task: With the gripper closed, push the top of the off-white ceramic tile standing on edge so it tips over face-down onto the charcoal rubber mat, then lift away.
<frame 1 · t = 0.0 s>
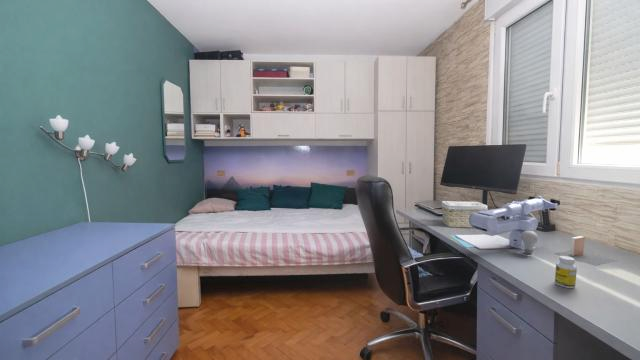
hand: (550, 201, 143), 22 cm above the table, tool horizontal, fingers open, 7 cm apart
lightbulb: (528, 254, 128), on the table
storage basket: (462, 225, 183), on the table
supplement bottle: (564, 285, 98), on the table
tile: (576, 254, 126), point 1 cm above the table, touching mat
mat: (584, 258, 123), on the table
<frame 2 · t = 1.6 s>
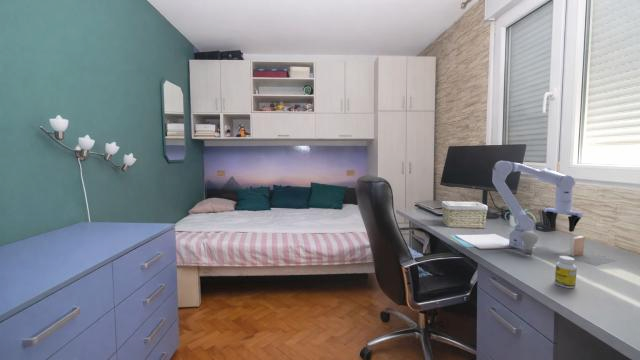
hand: (561, 229, 132), 10 cm above the table, tool pointing down, fingers open, 7 cm apart
nothing on the table moved.
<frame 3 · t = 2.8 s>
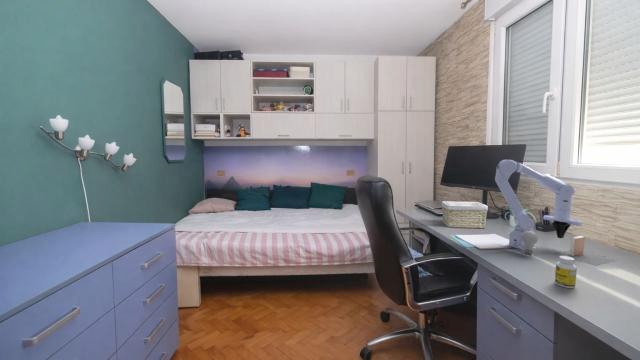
hand: (560, 237, 132), 6 cm above the table, tool pointing down, fingers closed
nothing on the table moved.
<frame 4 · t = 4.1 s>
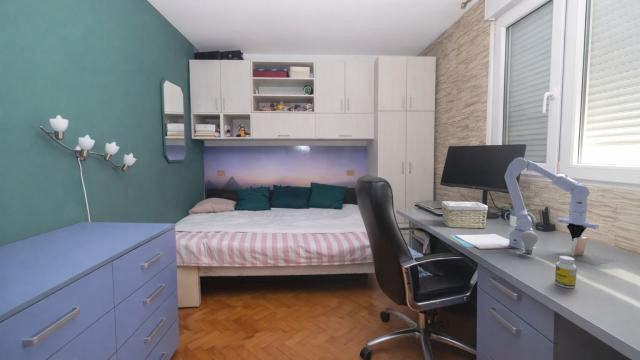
hand: (575, 241, 127), 6 cm above the table, tool pointing down, fingers closed
tile: (576, 254, 126), point 1 cm above the table, tilted 8°, touching mat
everything else where it was.
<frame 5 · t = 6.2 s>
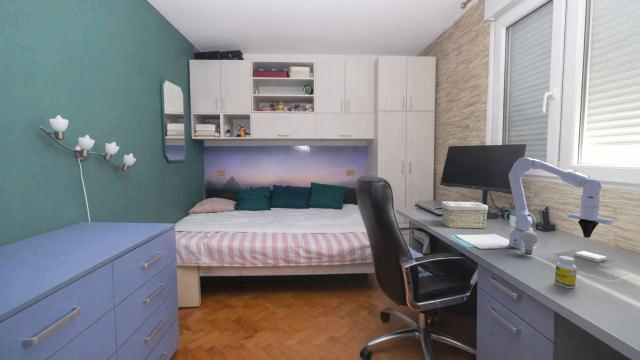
hand: (587, 237, 123), 9 cm above the table, tool pointing down, fingers closed
tile: (578, 253, 125), point 1 cm above the table, tilted 90°, touching mat
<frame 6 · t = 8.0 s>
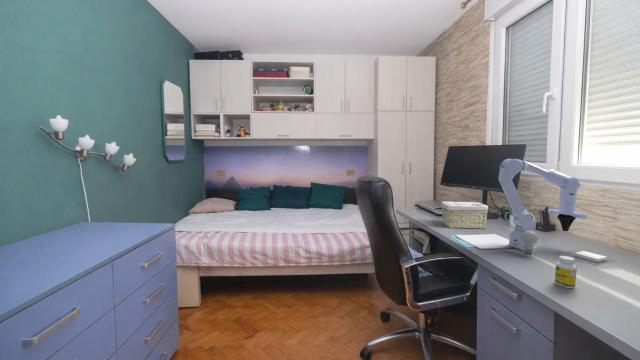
hand: (565, 230, 133), 9 cm above the table, tool pointing down, fingers closed
at the end: tile tilted 90°; tile inside the target area (0.2 cm from its centre), point 1.4 cm above the table; tile touching mat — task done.
